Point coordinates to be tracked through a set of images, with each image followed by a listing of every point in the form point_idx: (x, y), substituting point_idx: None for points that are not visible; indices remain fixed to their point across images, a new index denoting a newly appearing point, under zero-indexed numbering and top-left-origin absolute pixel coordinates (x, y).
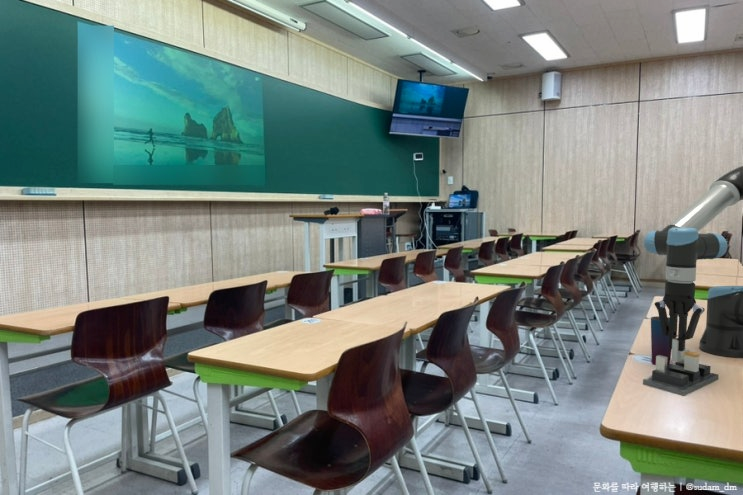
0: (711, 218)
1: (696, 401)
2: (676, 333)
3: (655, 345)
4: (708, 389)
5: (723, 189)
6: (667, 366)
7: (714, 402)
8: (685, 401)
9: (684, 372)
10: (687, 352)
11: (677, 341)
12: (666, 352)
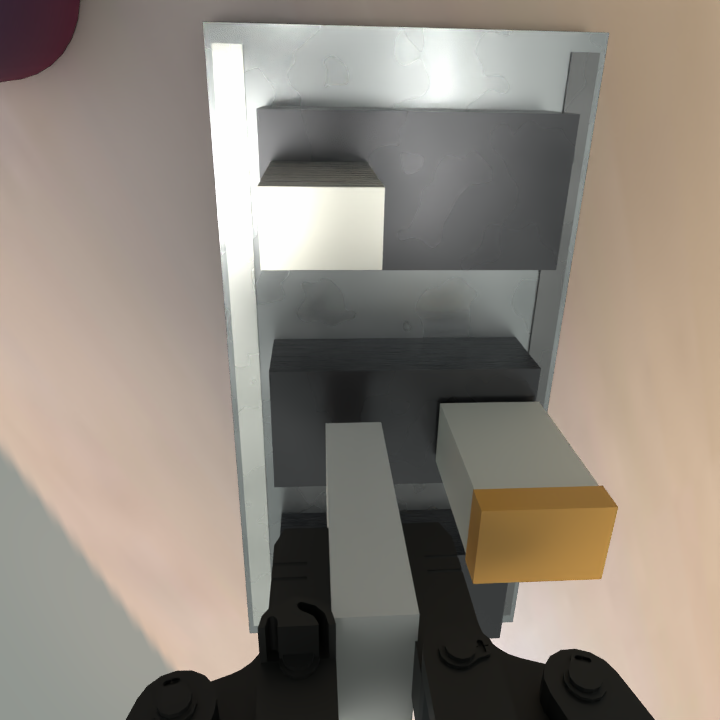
0: None
1: (578, 612)
2: (337, 709)
3: None
4: (580, 373)
5: None
6: (294, 470)
7: (656, 558)
8: (535, 650)
9: None
10: (500, 572)
11: (405, 703)
12: (4, 32)
